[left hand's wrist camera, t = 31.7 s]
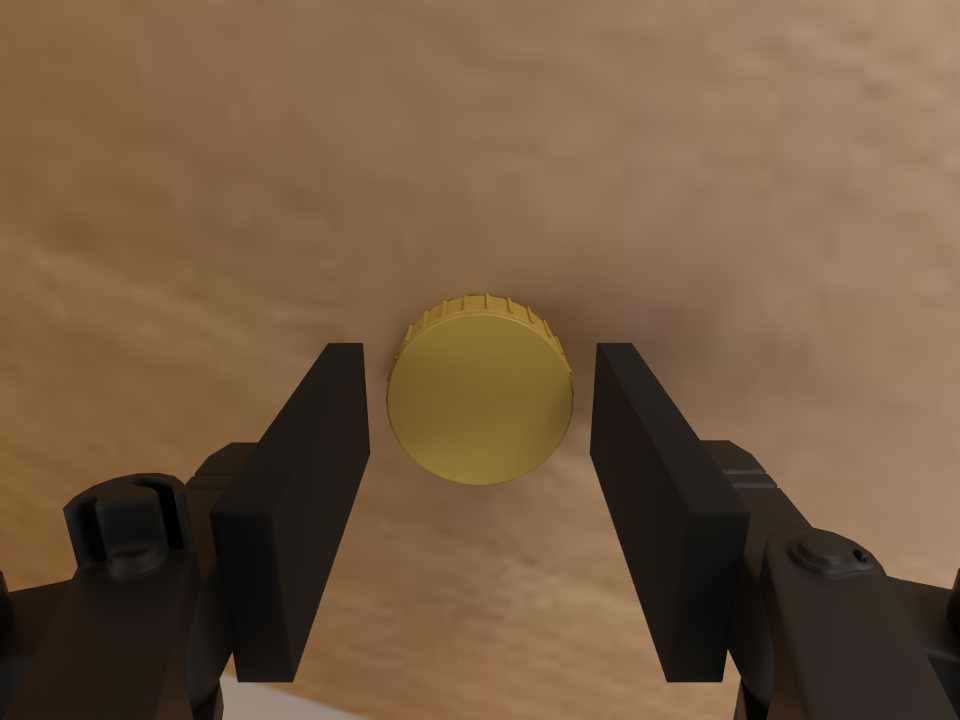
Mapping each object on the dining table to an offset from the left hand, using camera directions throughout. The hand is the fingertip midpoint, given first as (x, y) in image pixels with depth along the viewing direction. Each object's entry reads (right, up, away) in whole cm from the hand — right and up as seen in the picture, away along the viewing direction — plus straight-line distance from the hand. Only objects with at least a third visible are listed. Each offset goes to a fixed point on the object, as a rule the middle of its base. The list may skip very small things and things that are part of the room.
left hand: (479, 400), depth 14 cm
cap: (0, 0, 0) cm, 0 cm away
